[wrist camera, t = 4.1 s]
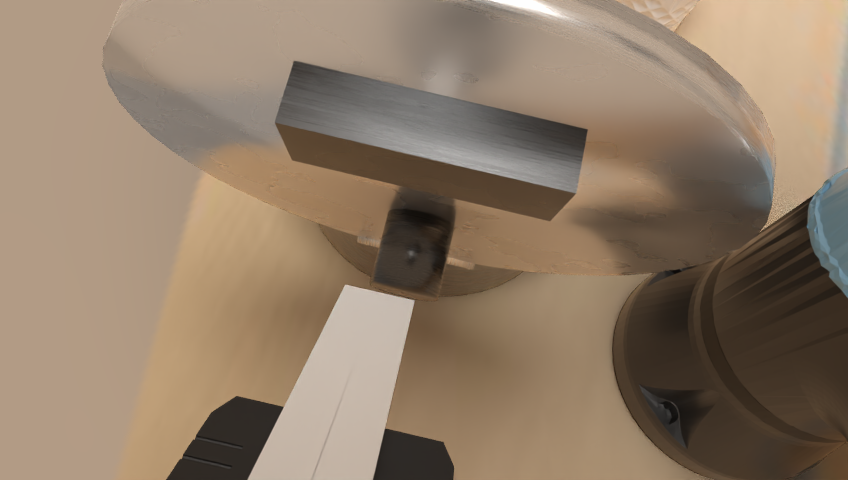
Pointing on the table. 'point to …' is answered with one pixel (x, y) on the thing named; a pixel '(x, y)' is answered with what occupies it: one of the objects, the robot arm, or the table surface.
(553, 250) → the cooker lid
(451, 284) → the cooker pot
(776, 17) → the table surface
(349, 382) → the robot arm
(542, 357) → the table surface
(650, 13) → the white cup
